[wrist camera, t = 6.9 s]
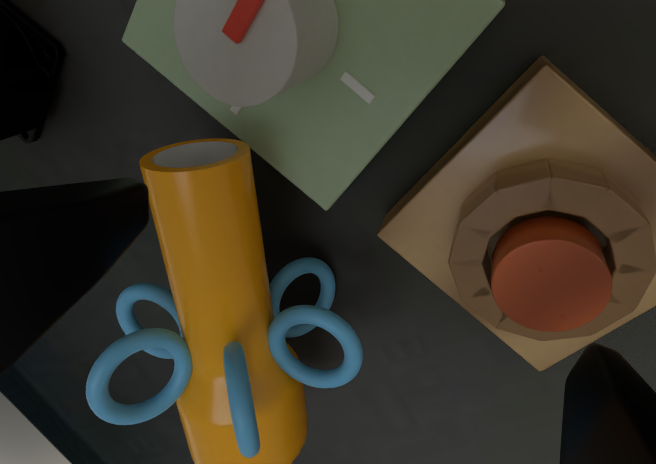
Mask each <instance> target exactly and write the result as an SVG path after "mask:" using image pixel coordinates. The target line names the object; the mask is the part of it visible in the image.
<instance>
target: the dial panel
mask: <svg viewBox="0 0 656 464" xmlns="http://www.w3.org/2000/svg"><path fill="white" fill-rule="evenodd" d="M334 3H335V6H336V9H337V15H338V25H339V27H338V38H337V43H336V46H335V50H334V52H333V54H332V56H331V58H330V60H329V61H328V63H327V64H326V65H325V67H324V68H323V69H322V70H321V71H320V72H319V73H317V74H316V75H314V76H313V77H311V78H309V79H308V80H306V81H304V82H302V83H300V84H298V85H297V86H295V87H293V88H291V89H289V90H287V91H285V92H284V93H282V94H280V95H278V96H276V97H274V98H273V99H271V100H269V101H267V102H265V103H263V104H260V105H256V106H251V107H238V106H232V105H228V104H225V103H223V102H220V101H218V100H216V99H215V98H213V97H211V96H210V95H208V94H207V93H206V92H205V91H203V90H202V89H201V88H200V87H199V86H198V85H197V84H196V83H195V81H194V80H193V79H192V78H191V76H190V75H189V73H188V72H187V70H186V68H185V67H184V65H183V63H182V61H181V58H180V56H179V53H178V50H177V47H176V43H175V38H174V30H173V16H174V8H175V4H176V0H137V1H136V4H135V7H134V9H133V12H132V14H131V17H130V20H129V22H128V25H127V27H126V30H125V33H124V35H123V38H122V41H123V42H124V43H125V44H126V45H127V46H129V47H130V48H131V49H132V50H133V51H135V52H136V53H137V54H138V55H139V56H141V57H142V58H143V59H144V60H145V61H147V62H148V63H149V64H150V65H151V66H153V67H154V68H155V69H156V70H157V71H159V72H160V73H161V74H162V75H163V76H165V77H166V78H167V79H168V80H169V81H171V82H172V83H173V84H174V85H175V86H177V87H178V88H179V89H180V90H181V91H183V92H184V93H185V94H186V95H187V96H189V97H190V98H191V99H192V100H193V101H195V102H196V103H197V104H198V105H199V106H201V107H202V108H203V109H204V110H205V111H207V112H208V113H209V114H210V115H211V116H213V117H214V118H215V119H216V120H217V121H219V122H220V123H221V124H222V125H223V126H225V127H226V128H227V129H228V130H229V131H231V132H232V133H233V134H234V135H235V136H237V137H238V138H239V139H240V140H241V141H243V142H245V143H247V144H248V145H249V147H250V148H251V149H252V150H253V151H255V152H256V153H257V154H258V155H259V156H261V157H262V158H263V159H264V160H265V161H267V162H268V163H269V164H270V165H271V166H273V167H274V168H275V169H276V170H277V171H279V172H280V173H281V174H282V175H283V176H285V177H286V178H287V179H288V180H289V181H291V182H292V183H293V184H294V185H295V186H297V187H298V188H299V189H300V190H301V191H303V192H304V193H305V194H306V195H307V196H309V197H310V198H311V199H312V200H313V201H315V202H316V203H317V204H318V205H319V206H321V207H322V208H323V209H324V210H326V211H327V210H329V208H330V207H331V206H332V205H333V204H334V203H335V201H336V200H337V199H338V198H339V197H340V196H341V194H342V193H343V192H344V191H345V190H346V189H347V188H348V186H349V185H350V184H351V183H352V182H353V181H354V179H355V178H356V177H357V176H358V175H359V174H360V173H361V171H362V170H363V169H364V168H365V167H366V166H367V164H368V163H369V162H370V161H371V160H372V159H373V158H374V156H375V155H376V154H377V153H378V152H379V151H380V149H381V148H382V147H383V146H384V145H385V144H386V143H387V141H388V140H389V139H390V138H391V137H392V136H393V134H394V133H395V132H396V131H397V130H398V129H399V127H400V126H401V125H402V124H403V123H404V122H405V121H406V119H407V118H408V117H409V116H410V115H411V114H412V112H413V111H414V110H415V109H416V108H417V107H418V106H419V104H420V103H421V102H422V101H423V100H424V99H425V97H426V96H427V95H428V94H429V93H430V92H431V91H432V89H433V88H434V87H435V86H436V85H437V84H438V82H439V81H440V80H441V79H442V78H443V77H444V75H445V74H446V73H447V72H448V71H449V70H450V69H451V67H452V66H453V65H454V64H455V63H456V62H457V60H458V59H459V58H460V57H461V56H462V55H463V54H464V52H465V51H466V50H467V49H468V48H469V47H470V45H471V44H472V43H473V42H474V41H475V40H476V39H477V37H478V36H479V35H480V34H481V33H482V32H483V30H484V29H485V28H486V27H487V26H488V25H489V24H490V22H491V21H492V20H493V19H494V18H495V17H496V15H497V14H498V13H499V12H500V11H501V10H502V8H503V7H504V6H505V0H334Z"/></svg>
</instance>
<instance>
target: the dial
mask: <svg viewBox="0 0 656 464" xmlns="http://www.w3.org/2000/svg"><path fill="white" fill-rule="evenodd" d="M338 27H339V25H338V15H337V9H336V6H335V3H334V0H176V4H175V8H174V16H173V30H174V38H175V43H176V47H177V50H178V53H179V56H180V58H181V61H182V63H183V65H184V67H185V68H186V70H187V72H188V73H189V75H190V76H191V78H192V79H193V80H194V81H195V83H196V84H197V85H198V86H199V87H200V88H201V89H202V90H203V91H205V92H206V93H207V94H208V95H210V96H211V97H213V98H215V99H216V100H218V101H220V102H223V103H225V104H228V105H232V106H238V107H251V106H256V105H260V104H263V103H265V102H267V101H269V100H271V99H273V98H274V97H276V96H278V95H280V94H282V93H284V92H285V91H287V90H289V89H291V88H293V87H295V86H297V85H298V84H300V83H302V82H304V81H306V80H308V79H309V78H311V77H313V76H314V75H316V74H317V73H319V72H320V71H321V70H322V69H323V68H324V67H325V65H326V64H327V63H328V61H329V60H330V58H331V56H332V54H333V52H334V50H335V46H336V43H337V38H338Z"/></svg>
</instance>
